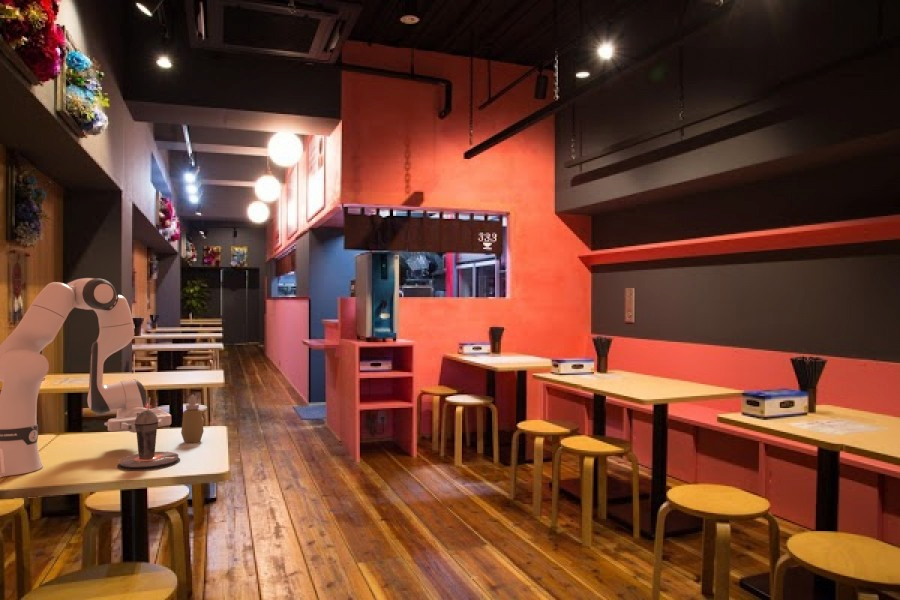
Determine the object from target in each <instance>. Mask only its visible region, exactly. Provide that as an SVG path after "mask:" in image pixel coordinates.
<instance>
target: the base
mask: <svg viewBox="0 0 900 600" xmlns="http://www.w3.org/2000/svg"><path fill="white" fill-rule="evenodd" d="M180 462H181V458H179V457H178V460H177V461H176V462H174V463H171V464H168V465H164V466H159V467H152V468H139V469H132V468H123V467H120V466H119V463H118V464H117V466H116V468H117V469H119V470H120V471H121V470H122V471H129V472H141V471H153V470H159V469H165V468H168V467H171V466H175V465H177V464H179V463H180Z"/></svg>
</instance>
